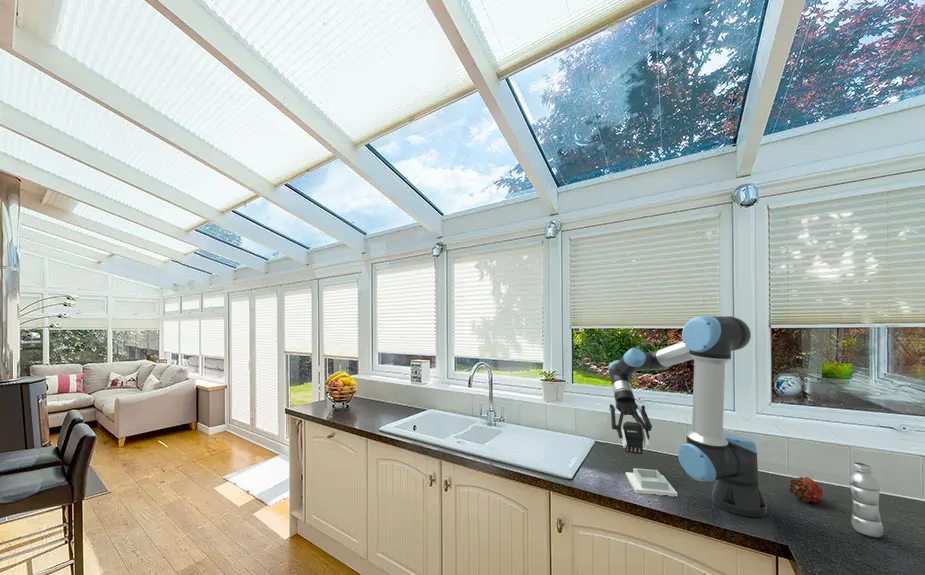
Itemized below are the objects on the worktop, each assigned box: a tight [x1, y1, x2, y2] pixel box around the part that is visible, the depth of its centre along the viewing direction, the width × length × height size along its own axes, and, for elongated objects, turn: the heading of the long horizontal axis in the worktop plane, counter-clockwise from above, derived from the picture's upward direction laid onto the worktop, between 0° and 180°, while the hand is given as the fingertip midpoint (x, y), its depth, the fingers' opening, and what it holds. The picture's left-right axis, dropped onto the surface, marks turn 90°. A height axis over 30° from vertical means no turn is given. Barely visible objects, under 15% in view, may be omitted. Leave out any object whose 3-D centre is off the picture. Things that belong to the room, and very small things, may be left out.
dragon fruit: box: [788, 476, 823, 504], centre depth 132 cm, size 8×8×12 cm
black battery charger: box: [622, 421, 644, 455], centre depth 144 cm, size 7×4×11 cm, turn 60°
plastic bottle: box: [848, 461, 884, 538], centre depth 112 cm, size 6×7×20 cm
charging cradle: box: [625, 467, 679, 498], centre depth 143 cm, size 14×16×4 cm
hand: (636, 446), depth 140 cm, fingers closed on black battery charger, 7 cm apart
